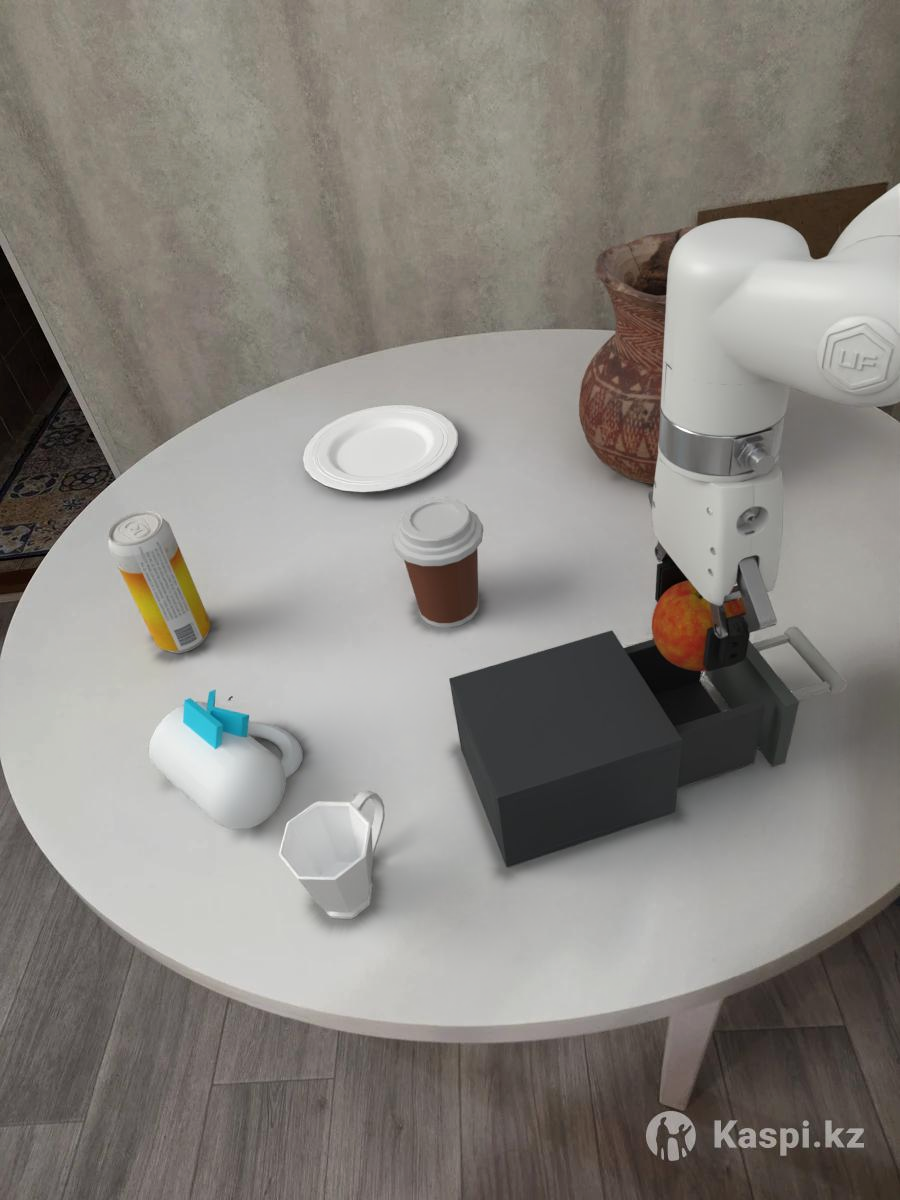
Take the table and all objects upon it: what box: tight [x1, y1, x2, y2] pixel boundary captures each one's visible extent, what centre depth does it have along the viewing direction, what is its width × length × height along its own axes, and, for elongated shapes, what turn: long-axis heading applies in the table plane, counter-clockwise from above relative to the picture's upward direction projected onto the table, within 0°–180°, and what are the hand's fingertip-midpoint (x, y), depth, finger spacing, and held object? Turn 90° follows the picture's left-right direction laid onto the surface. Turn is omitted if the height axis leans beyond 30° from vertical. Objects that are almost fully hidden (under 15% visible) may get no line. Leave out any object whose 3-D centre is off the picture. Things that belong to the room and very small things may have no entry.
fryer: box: [448, 629, 682, 868], centre depth 71 cm, size 15×13×10 cm
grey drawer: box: [623, 626, 847, 789], centre depth 73 cm, size 20×11×8 cm, turn 106°
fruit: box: [651, 580, 741, 672], centre depth 66 cm, size 7×7×8 cm
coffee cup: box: [391, 496, 484, 629], centre depth 88 cm, size 9×9×12 cm
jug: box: [578, 226, 697, 485], centre depth 100 cm, size 22×21×25 cm
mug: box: [148, 689, 303, 831], centre depth 76 cm, size 12×9×12 cm
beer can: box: [107, 510, 211, 654], centre depth 89 cm, size 6×6×15 cm
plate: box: [302, 404, 459, 494], centre depth 115 cm, size 21×21×2 cm
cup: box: [278, 790, 386, 920], centre depth 67 cm, size 7×10×8 cm
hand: (698, 628), depth 67 cm, fingers closed on fruit, 7 cm apart
